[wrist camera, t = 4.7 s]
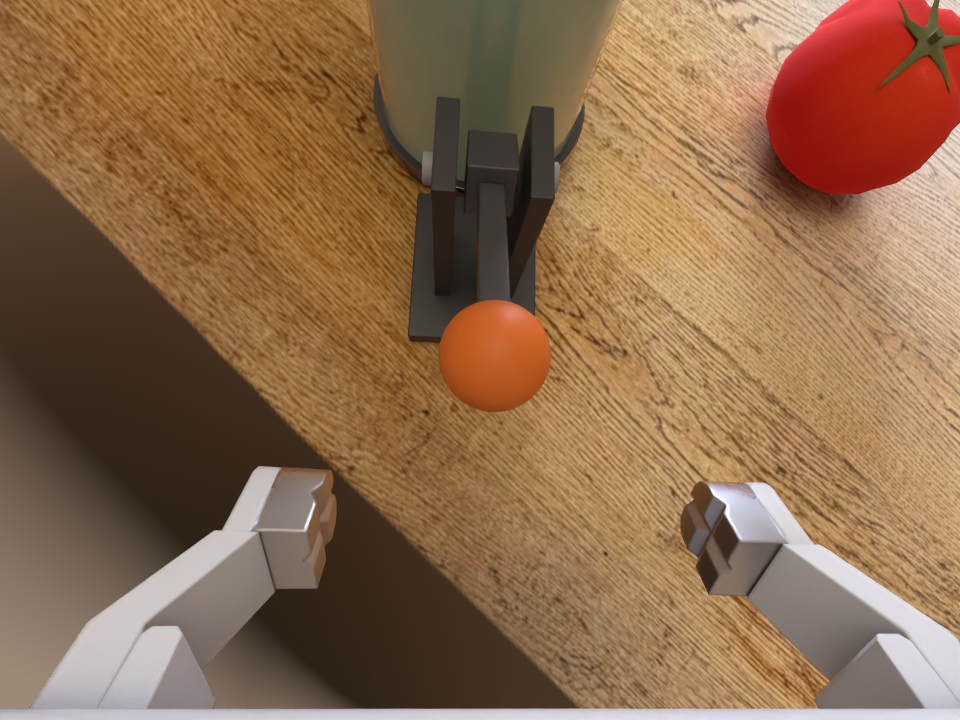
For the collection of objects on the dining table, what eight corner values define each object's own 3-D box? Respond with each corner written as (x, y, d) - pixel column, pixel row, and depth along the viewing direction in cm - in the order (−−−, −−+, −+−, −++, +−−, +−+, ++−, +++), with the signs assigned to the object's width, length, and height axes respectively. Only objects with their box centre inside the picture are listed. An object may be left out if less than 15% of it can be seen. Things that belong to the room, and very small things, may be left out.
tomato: (852, 80, 38) (999, -56, 28) (888, 221, 35) (1064, 125, 25) (722, 75, 37) (826, -69, 27) (748, 219, 34) (874, 119, 24)
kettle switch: (542, 433, 16) (568, 375, 13) (435, 429, 15) (436, 368, 12) (522, 192, 23) (535, 120, 20) (449, 186, 23) (452, 113, 20)
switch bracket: (531, 347, 31) (593, 266, 18) (409, 341, 30) (386, 252, 18) (532, 210, 33) (588, 55, 20) (418, 202, 32) (405, 37, 20)
